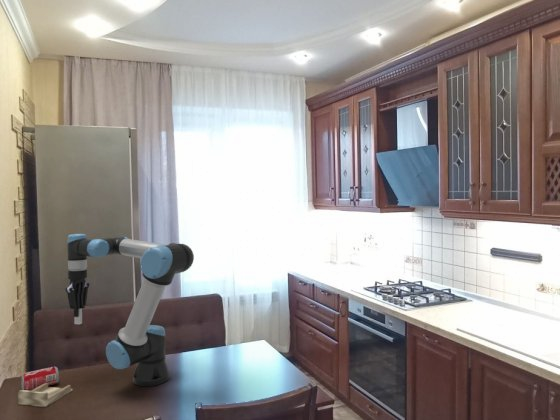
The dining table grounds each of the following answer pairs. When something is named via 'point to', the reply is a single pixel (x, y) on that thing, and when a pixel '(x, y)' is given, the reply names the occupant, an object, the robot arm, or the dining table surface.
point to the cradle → (42, 395)
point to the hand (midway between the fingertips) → (78, 323)
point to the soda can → (39, 378)
